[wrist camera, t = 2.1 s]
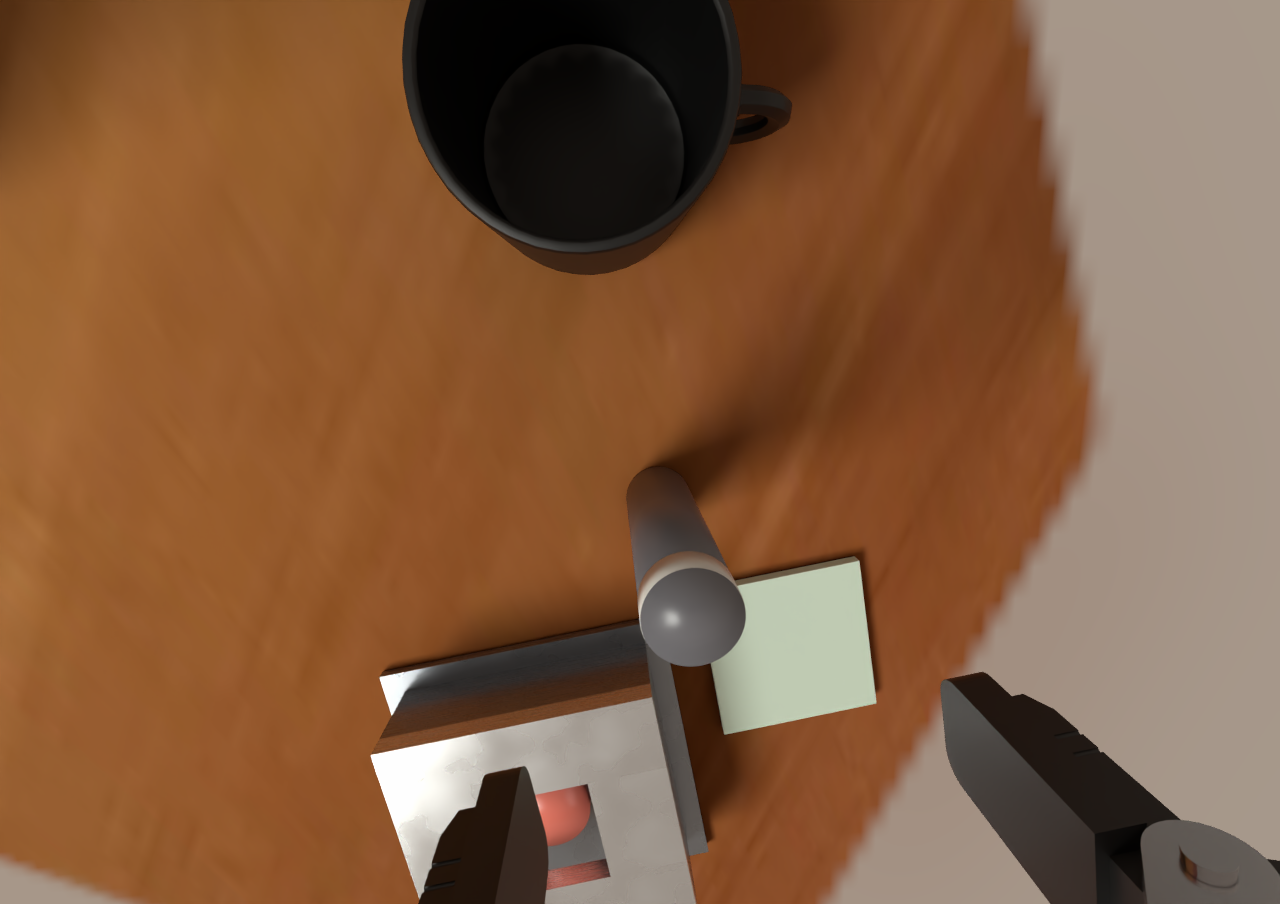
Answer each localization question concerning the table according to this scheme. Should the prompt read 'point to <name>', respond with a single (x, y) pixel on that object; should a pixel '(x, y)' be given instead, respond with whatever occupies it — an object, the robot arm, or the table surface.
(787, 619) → the pad
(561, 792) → the button
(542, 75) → the mug
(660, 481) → the peg
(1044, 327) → the table surface
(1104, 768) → the robot arm
